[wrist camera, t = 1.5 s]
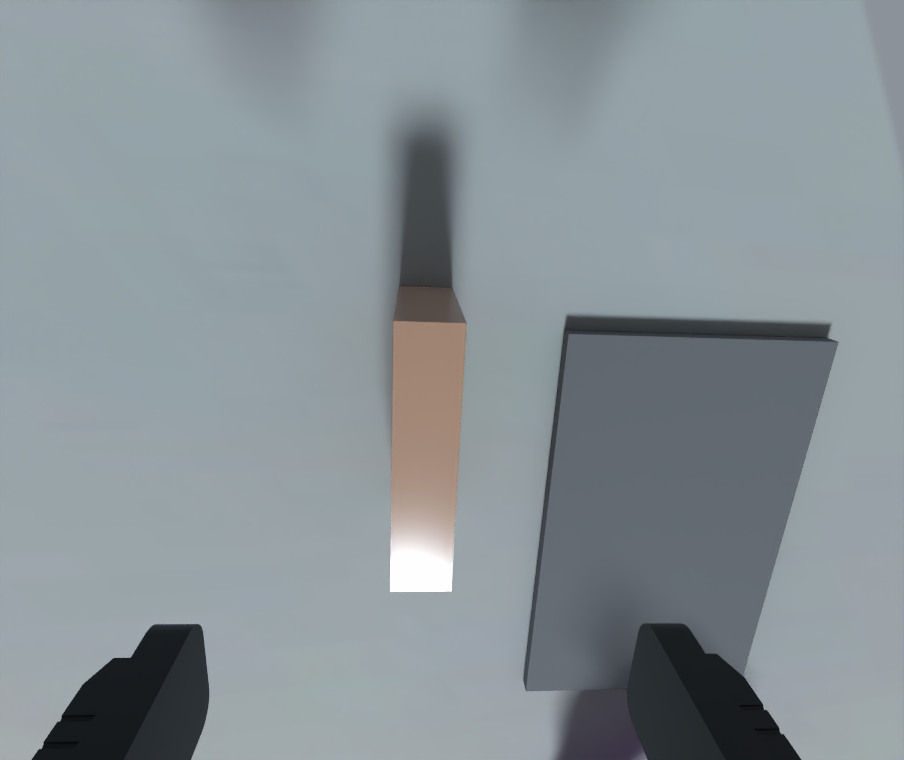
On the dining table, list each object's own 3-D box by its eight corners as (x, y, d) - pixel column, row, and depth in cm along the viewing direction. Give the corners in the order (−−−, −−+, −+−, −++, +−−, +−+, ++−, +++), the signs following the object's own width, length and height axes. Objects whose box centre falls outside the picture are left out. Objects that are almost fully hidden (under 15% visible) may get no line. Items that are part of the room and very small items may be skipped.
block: (399, 285, 20) (393, 320, 15) (452, 287, 21) (466, 323, 15) (396, 494, 23) (390, 591, 18) (442, 495, 23) (451, 591, 18)
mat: (564, 330, 21) (569, 334, 21) (827, 338, 22) (838, 341, 22) (523, 680, 27) (525, 691, 27) (733, 675, 28) (739, 685, 27)
